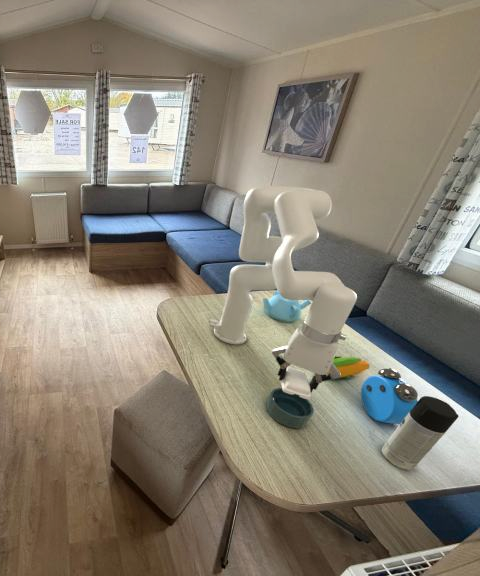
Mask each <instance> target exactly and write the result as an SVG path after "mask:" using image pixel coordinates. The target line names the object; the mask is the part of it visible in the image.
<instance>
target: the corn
mask: <svg viewBox="0 0 480 576" xmlns="http://www.w3.org/2000/svg"><path fill="white" fill-rule="evenodd" d="M333 364H334V365H335V366H336V368H337V369H338V370H339V372H340V373H341V377H340V378H336V379H335V380H344V379H351V378H354V377H356V375H359V374H361V373H363V372H364V371H367V370H368V369H370V363H369V362H368V361H366V360H365V359H364V360H363V359H361V358H359V357H355V356H336V355H335V357H334V360H333ZM330 372H331V371H330V369H329V371H328V373H330Z"/></svg>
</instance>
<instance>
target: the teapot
mask: <svg viewBox="0 0 480 576" xmlns="http://www.w3.org/2000/svg"><path fill="white" fill-rule="evenodd" d="M262 302H263V308H264V311H265V313H266V314H267V315H268V316H269V317H270V318H271V319H273V320H276V321H279V322H283V323H293V322H295V321H298V320H299V319H300V318H301V316H302V310H303V309H305V308H306V307H308V306H309V305H311V304H312V302H311V300H303V302H301V303H300V300H289V299H285V298H283V297H282V296H281V295H280V294H279V293H278V291H277V290H275V292H274V293H273V296H272V297H270V298H269V299H268V298H267V297H262Z"/></svg>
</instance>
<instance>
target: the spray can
mask: <svg viewBox="0 0 480 576" xmlns="http://www.w3.org/2000/svg"><path fill="white" fill-rule="evenodd" d="M417 401H418V402H417V403H416V404H415V406H414V407H413V408H412V409H411V410H410V412H409V413H408V415H407V416H406V417H405V418H404V420H403V421H402V422H401V424H398V426H397V427H396V429H395V430H394V432H393V433H392V434H391V436H390V437H389V438H388V440H387V441H386V442H385V443H384V444H383V446H382V448H381V454H382V455H383V457H384V458H385V460H386V461H388V462H389V463H390V464H392V465H393V466H395V467H397V468H399V469H401V470H406V471H411V470H413V469H414V468H416V466H417V465H419V464H420V462H421V461H422V460H423V459H424V458H425V457H426V455H427V454H428V453H429V452H430V451H431V450H432V449H433V447H434V446H435V445H437V443H438V442H439V440H440V439H441V438H442V437H443V436H444V435H445V434H446V433H447V431H448V430H450V428H451V427H452V426H453V424H454V423H455V422H456V421H457V419H458V418H459V414H458V413H457V412H456V410H455V409H454V408H453V407H452V406H451V405H450V404H449V403H447V402H446V401H444V400H442V399H439V398H437V397H434V396H428V395H424V396H422V397H420V398H419V399H418V400H417Z"/></svg>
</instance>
